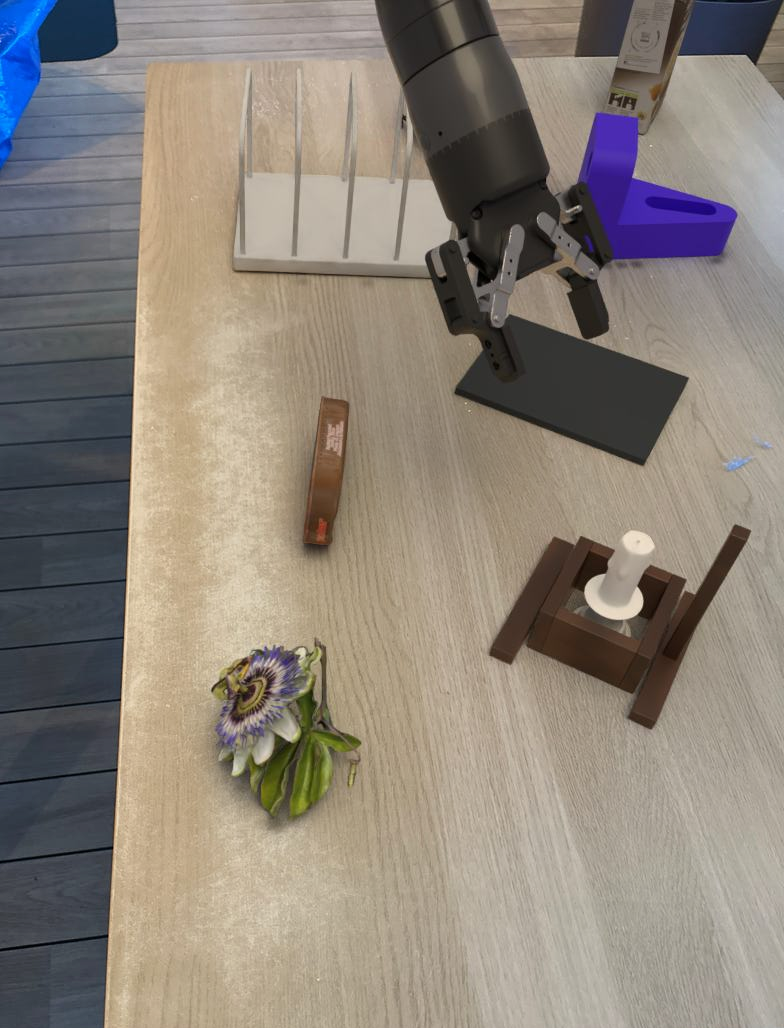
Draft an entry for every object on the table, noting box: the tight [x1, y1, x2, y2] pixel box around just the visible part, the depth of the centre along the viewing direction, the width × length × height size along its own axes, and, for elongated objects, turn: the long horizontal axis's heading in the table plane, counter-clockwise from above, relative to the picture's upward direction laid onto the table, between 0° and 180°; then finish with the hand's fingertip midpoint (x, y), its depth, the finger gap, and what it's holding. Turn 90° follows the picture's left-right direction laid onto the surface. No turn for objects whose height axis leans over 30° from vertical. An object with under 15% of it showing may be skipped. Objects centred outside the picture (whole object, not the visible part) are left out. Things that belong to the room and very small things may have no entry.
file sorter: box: [232, 67, 457, 279], centre depth 110 cm, size 25×17×16 cm
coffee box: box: [602, 0, 696, 135], centre depth 128 cm, size 9×6×16 cm
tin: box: [302, 395, 350, 546], centre depth 88 cm, size 15×3×8 cm, turn 175°
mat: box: [454, 313, 690, 466], centre depth 101 cm, size 20×14×1 cm
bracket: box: [576, 111, 738, 260], centre depth 113 cm, size 18×11×12 cm, turn 78°
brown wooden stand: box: [488, 523, 752, 730], centre depth 77 cm, size 14×14×16 cm
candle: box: [572, 529, 656, 638], centre depth 79 cm, size 5×5×12 cm
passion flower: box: [210, 636, 362, 822], centre depth 73 cm, size 11×11×12 cm
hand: (556, 357), depth 72 cm, fingers open, 8 cm apart
